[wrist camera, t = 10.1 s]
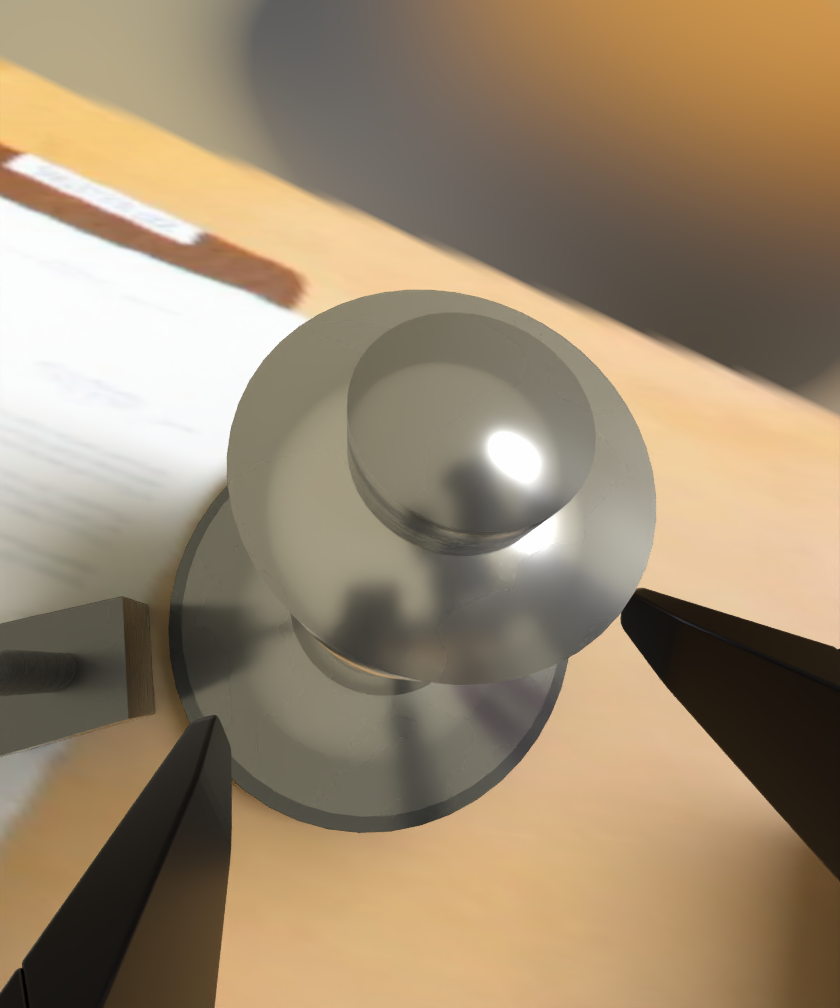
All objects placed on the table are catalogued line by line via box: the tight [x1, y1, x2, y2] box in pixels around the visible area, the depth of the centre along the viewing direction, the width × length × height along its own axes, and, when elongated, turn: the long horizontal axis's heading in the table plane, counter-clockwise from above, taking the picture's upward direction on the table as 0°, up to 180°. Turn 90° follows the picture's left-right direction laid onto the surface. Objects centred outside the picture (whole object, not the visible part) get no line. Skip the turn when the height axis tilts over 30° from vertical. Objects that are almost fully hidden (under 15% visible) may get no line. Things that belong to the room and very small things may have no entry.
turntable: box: [169, 486, 568, 833], centre depth 18 cm, size 16×16×1 cm
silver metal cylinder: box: [227, 290, 656, 696], centre depth 11 cm, size 7×7×13 cm
